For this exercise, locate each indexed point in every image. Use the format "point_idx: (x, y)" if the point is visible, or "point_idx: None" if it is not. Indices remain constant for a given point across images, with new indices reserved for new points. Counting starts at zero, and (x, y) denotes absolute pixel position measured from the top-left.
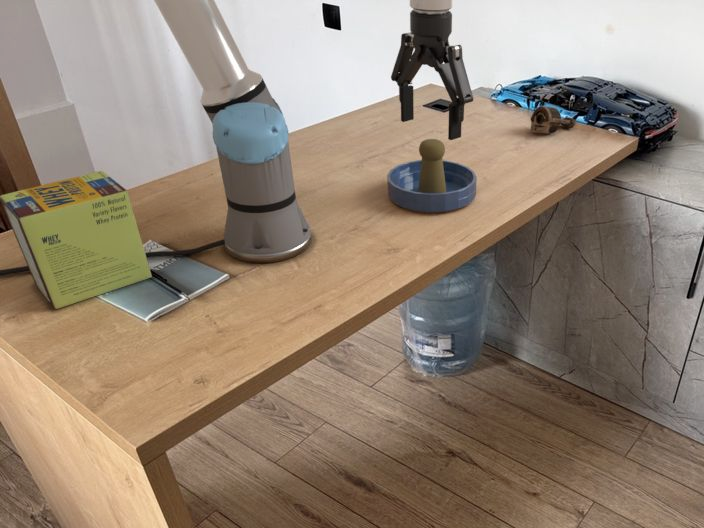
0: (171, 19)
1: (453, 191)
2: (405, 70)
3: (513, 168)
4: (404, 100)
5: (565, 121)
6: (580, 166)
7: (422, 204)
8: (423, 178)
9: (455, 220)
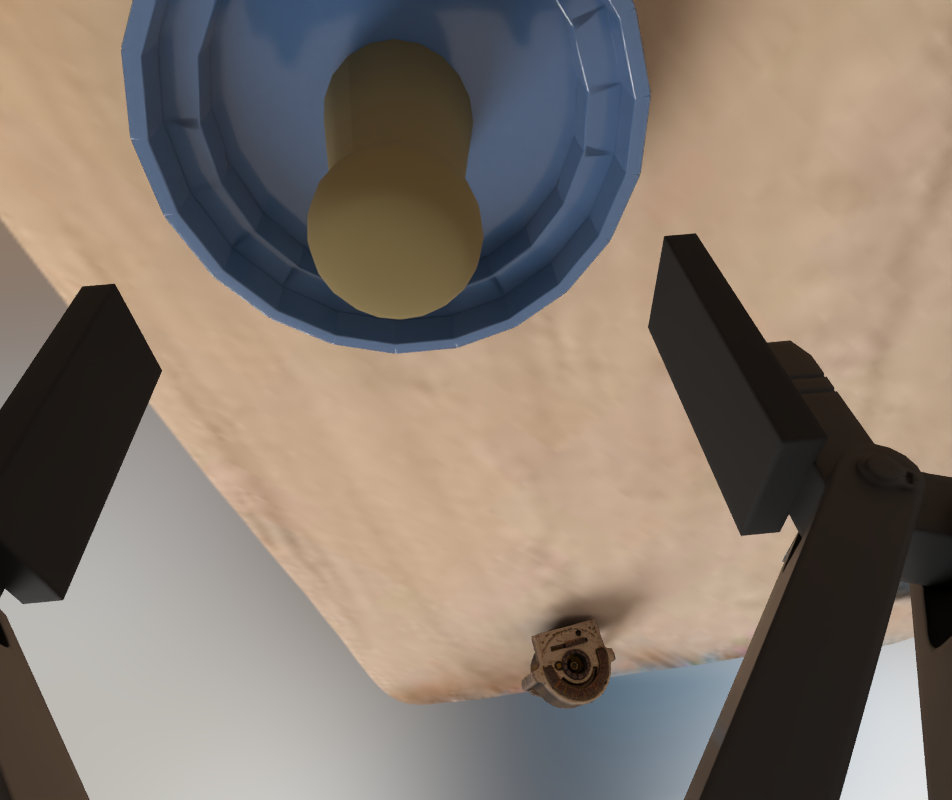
0: None
1: (140, 117)
2: (847, 665)
3: (431, 485)
4: (724, 362)
5: (523, 685)
6: (331, 592)
7: None
8: (385, 88)
9: (77, 19)
